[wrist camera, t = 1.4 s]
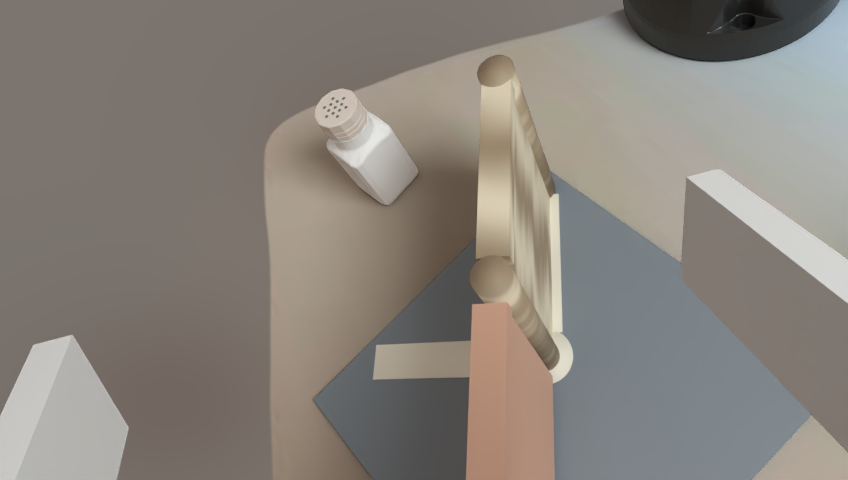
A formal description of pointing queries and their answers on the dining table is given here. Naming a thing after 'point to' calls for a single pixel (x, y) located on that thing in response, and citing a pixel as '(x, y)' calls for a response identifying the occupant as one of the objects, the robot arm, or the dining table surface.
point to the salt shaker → (365, 146)
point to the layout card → (574, 370)
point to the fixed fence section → (514, 209)
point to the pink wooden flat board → (507, 401)
